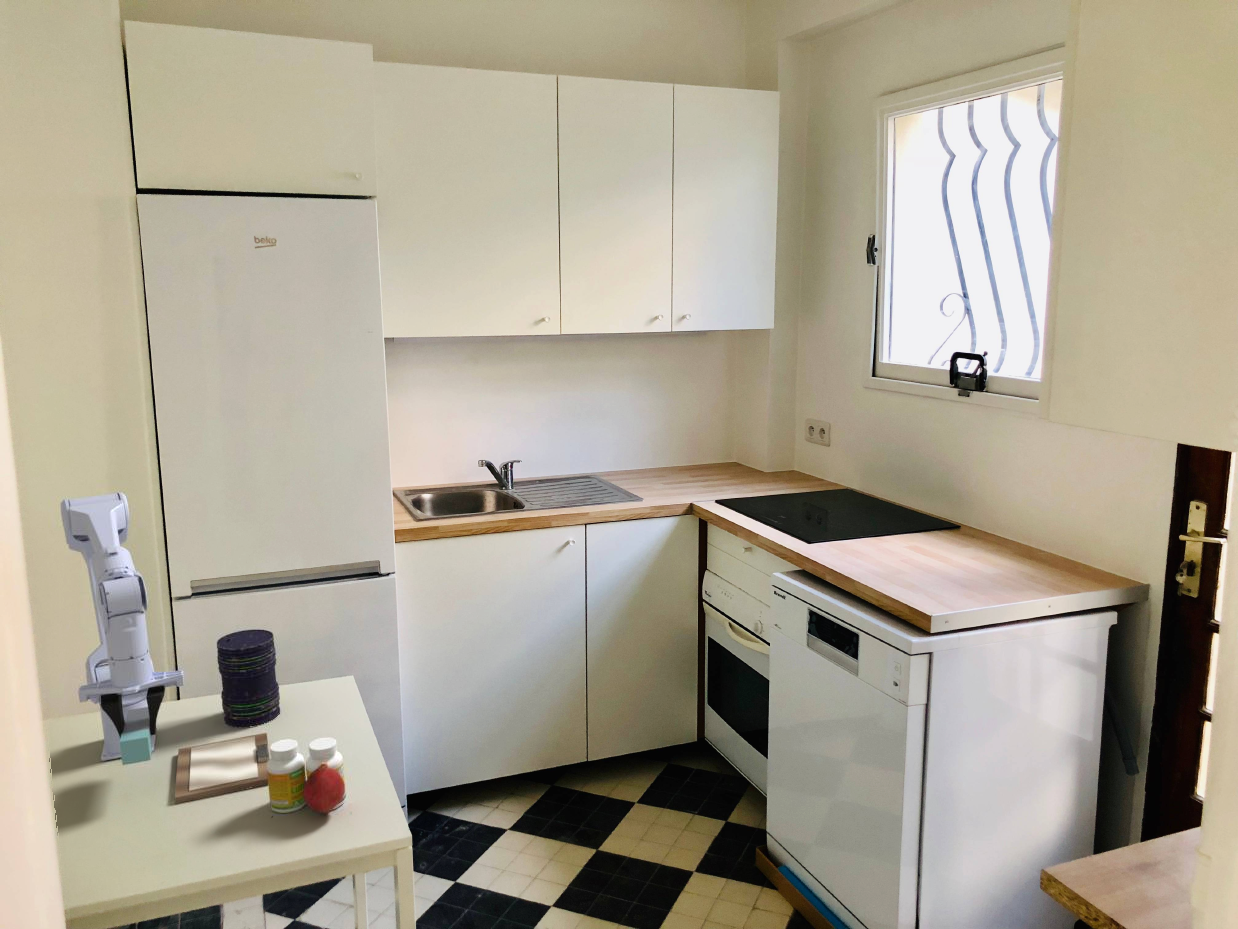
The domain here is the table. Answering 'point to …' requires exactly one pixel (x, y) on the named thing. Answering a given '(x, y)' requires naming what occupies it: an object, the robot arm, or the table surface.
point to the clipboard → (221, 767)
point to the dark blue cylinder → (248, 678)
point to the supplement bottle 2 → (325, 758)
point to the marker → (136, 737)
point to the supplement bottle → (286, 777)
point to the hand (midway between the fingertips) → (138, 735)
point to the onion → (324, 789)
